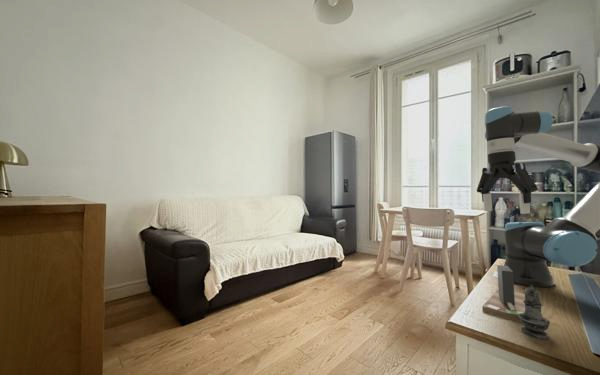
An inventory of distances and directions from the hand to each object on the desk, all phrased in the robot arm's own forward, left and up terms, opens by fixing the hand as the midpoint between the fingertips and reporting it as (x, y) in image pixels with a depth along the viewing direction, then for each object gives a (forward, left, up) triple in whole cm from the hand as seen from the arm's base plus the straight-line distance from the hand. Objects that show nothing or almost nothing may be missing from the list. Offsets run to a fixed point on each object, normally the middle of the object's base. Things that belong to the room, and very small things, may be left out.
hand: (505, 212), depth 86 cm
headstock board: (+8, +8, -28) cm, 31 cm away
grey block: (+11, +10, -27) cm, 31 cm away
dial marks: (+15, +13, -27) cm, 33 cm away
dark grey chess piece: (+16, +22, -29) cm, 39 cm away
